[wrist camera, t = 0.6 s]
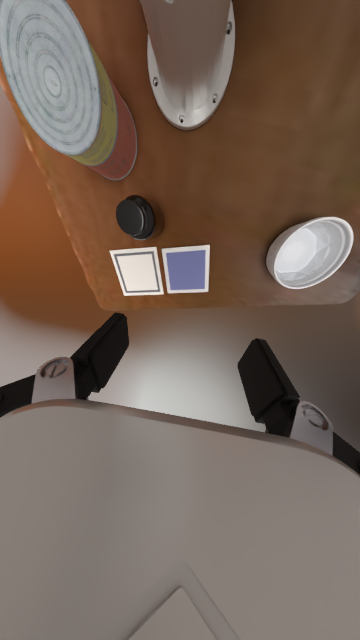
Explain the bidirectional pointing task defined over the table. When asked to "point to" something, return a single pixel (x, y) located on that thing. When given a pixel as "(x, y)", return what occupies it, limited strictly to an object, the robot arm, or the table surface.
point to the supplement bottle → (139, 217)
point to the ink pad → (186, 268)
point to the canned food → (65, 86)
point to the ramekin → (309, 252)
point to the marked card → (138, 271)
